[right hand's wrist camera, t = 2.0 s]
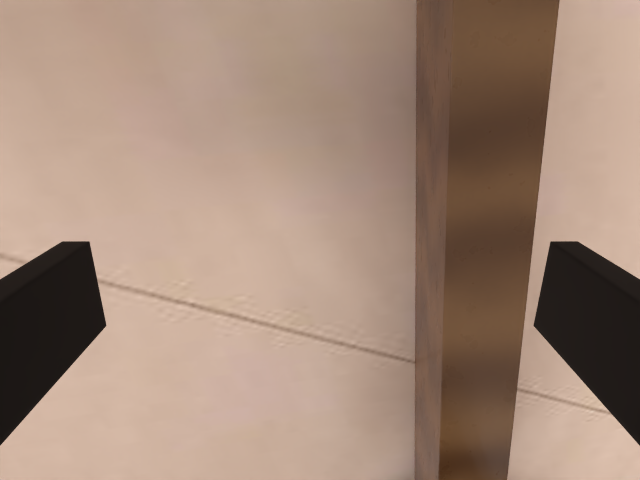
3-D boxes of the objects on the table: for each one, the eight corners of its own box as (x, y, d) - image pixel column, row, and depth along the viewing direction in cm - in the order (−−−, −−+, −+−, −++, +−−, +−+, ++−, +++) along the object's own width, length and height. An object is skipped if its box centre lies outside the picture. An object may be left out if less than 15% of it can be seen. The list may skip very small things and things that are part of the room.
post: (416, -36, 26) (455, -82, 19) (498, -43, 26) (569, -92, 19) (414, 530, 44) (433, 620, 36) (462, 527, 44) (492, 617, 36)
